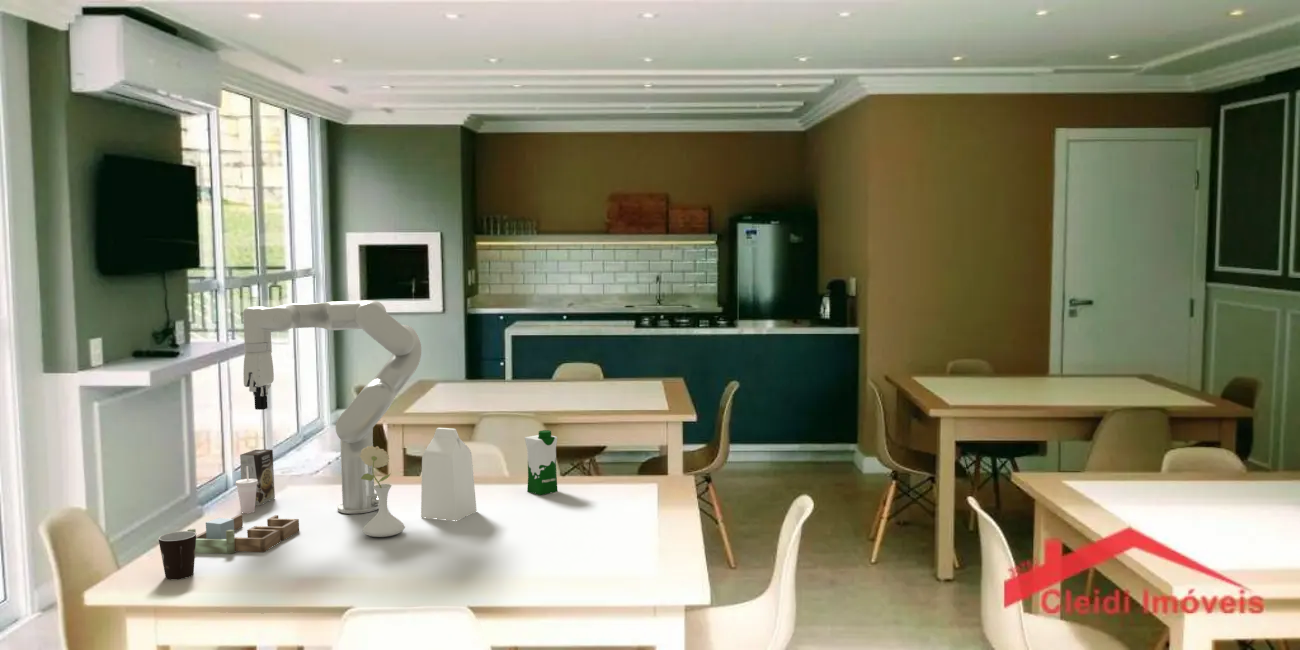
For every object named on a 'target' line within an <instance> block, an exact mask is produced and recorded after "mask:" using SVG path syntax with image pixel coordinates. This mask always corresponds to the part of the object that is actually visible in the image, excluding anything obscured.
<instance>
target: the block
mask: <svg viewBox="0 0 1300 650" xmlns="http://www.w3.org/2000/svg"><path fill="white" fill-rule="evenodd" d="M227 530H234V519H231V518H227V517H226V518H224V517H218V518H214V519H212V520H208V521H206V522H205V531H206V538H207V539H226V531H227ZM234 537H236V536H235V533H234Z"/></svg>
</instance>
